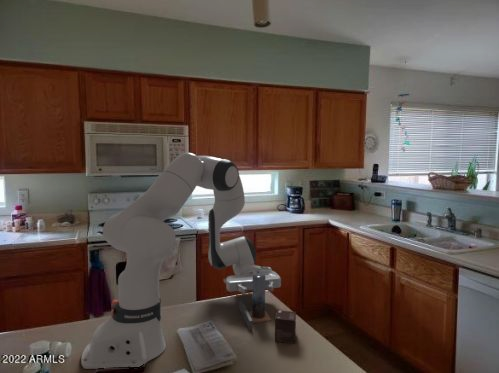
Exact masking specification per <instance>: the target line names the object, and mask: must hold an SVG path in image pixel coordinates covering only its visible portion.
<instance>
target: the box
mask: <svg viewBox="0 0 499 373" xmlns="http://www.w3.org/2000/svg"><path fill="white" fill-rule="evenodd" d="M296 318H297V312H296V311H291V310H289V311H288V310H276V313H275V318H274V342H279V343H287V344H288V343H289V344H295V341H296V331H297V329H296V328H297V327H296V326H297V325H296V322H297V319H296Z"/></svg>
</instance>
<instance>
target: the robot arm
mask: <svg viewBox="0 0 499 373" xmlns="http://www.w3.org/2000/svg"><path fill="white" fill-rule="evenodd" d="M243 186H244V185H243V182H242V180H241V176H240V172H239V169H238V167H237V165H236V163H235V162H233V161H231V160H229V159H226V158H223V159H222V158H219V157H215V156H211V155H199V154H194V153H192V152H183V153H180V154H179V155H178V156H176V157H175V158H174V159H172V161H171V162H170V163H169V164H168V165H167V166H165V168H163V170H162V171H161V173H160V174H159V176H158V177H157V178H156V179H155V181H154V182H152V184H151V185H150V187H148V189H147V190H145V192H144V193H143V194H142V195H141V196H140V197H139V198H137V199H135V200H134V202H131V204H129V205H128V206H126V207H125V208H124V209H123V210H121V211H120V212H117V213H115V214H113V215H111V216H110V217H108V218H107V219H106V221H105V222H104V223H103V224H104V225H103V228H102V235H103V238H104V240H105V242H107V243H108V244H109V245H110V246H111V247H112V248H114V249H115V250H118V251H121V252H124V253H126V254H127V259H126V265H125V268H124V270H122V272H121V273H120V274H119V276H118V278H117V285H118V287H117V288H118V289H117V290H118V292H117V293H118V299H113V300H112V301H111V305H110V306H111V310H110V314H111V316H110V317H109V318H107V319H106V320H104V322H102V323H101V324H100V325H98V326H97V328H96V329H95V331H93V334H92V336H91V339H90V342H89V343H88V344H87V345H86V346H85V348H84V349H83V350H82V353H81V358H80V359H81V360H80V363H81V366H82V368H83V369H87V370H88V369H89V370H91V369H93V370H95V369H98V368H104V367H105V368H104V369H108V368H107V367H127V366H136V367H137V366H141V365H143V364H144V365H146V364H147V363H148V362H149V361H151V360H153V359H155V358H157V357H159V356H160V355H161V354H162V353H163V352H164V351H165V350H166V347H167V344H166V340H165V337H164V334H163V330H162V329H163V328H162V322H161V321H162V320H161V319H162V310H163V309H162V300H161V298H160V275H161V274H160V272H161V269H162V266H163V263H164V260H165V259H166V258H167V257H168V256H169V255H170V254H171V253H172V252H173V250H174V248H175V245H176V241H177V240H176V233H175V230H174V229H173V227H172V226H171V225H169V224H168V223H166V222H165V221H166V220H168V219H169V218H172V217H173V216H174V217H175V216H176V215H178V213H179V212H180V210H181V209H182V208H183V206H184V205H185V203H186V202H187V201H188V200H189V198H190V197H191V195H192V194H193V192H194V191H195V189H196V187H200V188H202V189H205V190H212V191H213V195H214V204H213V206H212V208H211V209H210V210H209V213H208V220H207V221H208V252H207V256H208V262H209V264H210V266H211V267H213V268H214V269H216V270H219V271H221V270H222V269H225V268H228V267H229V266H232V269H233V270H232V271H233V273H234V274H233V275H228V276H227V277H226V278H223V283H224V284H226V291H227V292H231V293H234V292H241V293H242V294H243V295H244V294H248V291H253V275H255V274H262V275H265V276H266V279H265V290H266V289H267V291H268V292H273V291H274V289H277V288H278V289H279V288H280V287H282V286H281V285H282V278H281V276H280V275H279V274H278V273H277V272H276V271H274V270H272V268H271V267H270V266H260V265H257V264H255V262H256V261H257V252H256V248H255V246H254V244H253V242H252V240H251V239H249V238H248V237H247V236H244V235H243V236H240V237H236V238H233V239H230V240H227V241H223V242H221V228H222V227H223V226H224V225H225V224H227V222H229V221H230V220H232V219H234V218H235V217H236V216H238V215H239V214H240V213H241V212H242V211H243V209H244V207H245V203H246V202H245V201H246V200H245V199H246V198H245V191H244V188H243ZM144 365H143V366H144Z"/></svg>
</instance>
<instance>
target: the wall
mask: <svg viewBox="0 0 499 373" xmlns="http://www.w3.org/2000/svg"><path fill="white" fill-rule="evenodd" d="M239 310H240V312H241V315H242V317H243V319H244V321H245V324H246V325H247V327H248V329H249V331H251V330H253V326H254V324H253V320H252V318H251V316H250V315H249V313H248V312H249V311H248V308H247V307H246V305H245V303H244V301H243V300H239Z"/></svg>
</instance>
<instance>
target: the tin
mask: <svg viewBox="0 0 499 373" xmlns="http://www.w3.org/2000/svg"><path fill="white" fill-rule="evenodd" d="M265 279H266V276H265V275H262V274H255V275H253V290H252V296H251V297H252V298H251V299H252V302H251V304H252V305H251V306H252V307H251V308H252V309H251V312H252V316H253V317H254V318H264V317H265V310H266V289H265Z"/></svg>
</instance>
